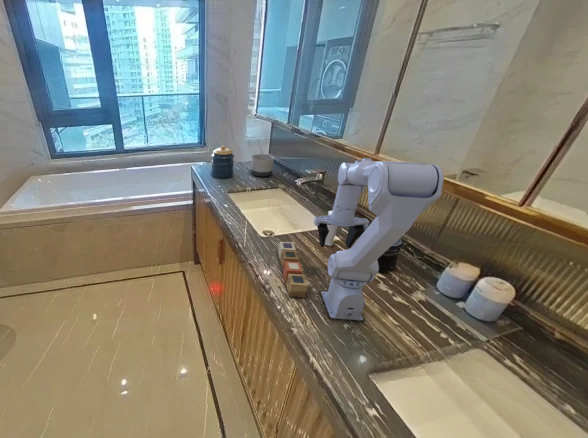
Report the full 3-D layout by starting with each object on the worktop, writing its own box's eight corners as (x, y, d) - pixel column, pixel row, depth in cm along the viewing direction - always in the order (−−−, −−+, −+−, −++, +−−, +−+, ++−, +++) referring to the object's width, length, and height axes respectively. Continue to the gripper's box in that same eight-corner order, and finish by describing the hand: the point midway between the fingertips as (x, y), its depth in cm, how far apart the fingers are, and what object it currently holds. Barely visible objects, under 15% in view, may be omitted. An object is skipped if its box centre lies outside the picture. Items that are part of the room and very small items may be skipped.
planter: (246, 172, 173) (247, 155, 168) (265, 169, 176) (266, 153, 171) (256, 179, 162) (258, 161, 157) (276, 176, 166) (278, 159, 161)
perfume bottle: (336, 247, 102) (346, 209, 94) (323, 245, 102) (332, 208, 95) (333, 240, 105) (343, 203, 98) (321, 239, 106) (329, 203, 99)
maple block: (305, 297, 80) (308, 285, 78) (288, 296, 80) (291, 283, 78) (301, 286, 84) (304, 274, 82) (286, 285, 84) (288, 273, 82)
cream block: (293, 260, 95) (295, 249, 92) (279, 260, 95) (281, 248, 93) (291, 253, 99) (293, 242, 96) (278, 252, 99) (279, 241, 97)
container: (388, 253, 98) (398, 228, 93) (399, 277, 87) (410, 250, 82) (348, 247, 101) (355, 223, 96) (353, 269, 90) (362, 243, 86)
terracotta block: (300, 283, 85) (303, 271, 83) (285, 282, 86) (287, 270, 83) (297, 273, 89) (299, 261, 87) (282, 272, 90) (284, 260, 87)
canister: (209, 172, 174) (209, 143, 165) (229, 170, 176) (231, 142, 167) (214, 179, 162) (214, 149, 154) (236, 178, 164) (237, 147, 156)
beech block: (296, 270, 90) (299, 258, 88) (282, 269, 91) (284, 258, 89) (294, 261, 94) (296, 250, 92) (280, 261, 95) (282, 249, 92)
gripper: (366, 200, 82) (354, 239, 89) (314, 198, 83) (306, 237, 90) (377, 211, 76) (363, 252, 82) (321, 209, 77) (312, 250, 84)
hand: (334, 245), depth 86 cm, fingers open, 7 cm apart
